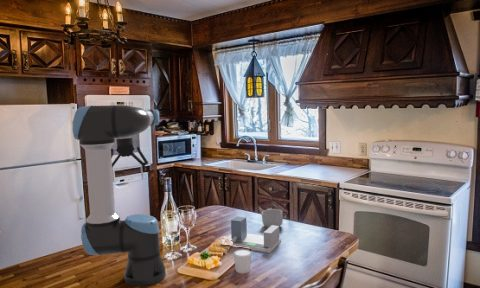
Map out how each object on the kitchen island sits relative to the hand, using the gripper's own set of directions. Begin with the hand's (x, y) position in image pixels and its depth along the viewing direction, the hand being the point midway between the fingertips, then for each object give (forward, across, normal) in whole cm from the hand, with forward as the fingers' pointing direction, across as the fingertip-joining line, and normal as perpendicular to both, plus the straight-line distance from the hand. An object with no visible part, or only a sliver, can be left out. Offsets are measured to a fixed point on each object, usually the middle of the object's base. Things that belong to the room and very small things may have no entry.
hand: (128, 180), depth 183 cm
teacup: (+30, -70, +8) cm, 77 cm away
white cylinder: (+30, -45, +53) cm, 76 cm away
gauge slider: (+28, -48, +26) cm, 61 cm away
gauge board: (+30, -54, +28) cm, 68 cm away
